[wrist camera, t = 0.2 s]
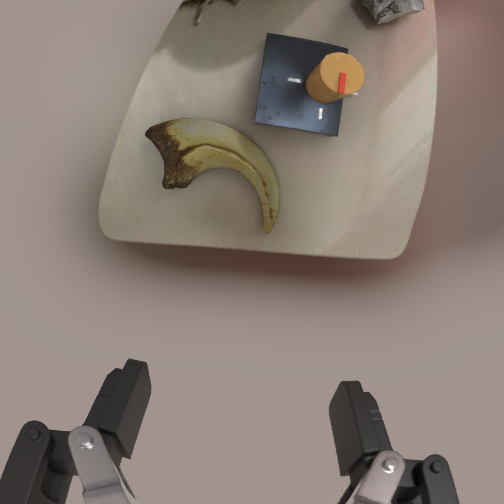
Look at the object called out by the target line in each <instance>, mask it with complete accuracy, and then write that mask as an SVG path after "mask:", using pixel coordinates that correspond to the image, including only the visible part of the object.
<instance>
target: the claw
mask: <svg viewBox="0 0 504 504" xmlns="http://www.w3.org/2000/svg"><path fill="white" fill-rule="evenodd" d="M145 136H146V137H147V138H149V139H150V140H151V141H152V142H153V143H154V145H155V146H156V147H157V149H158V150H159V151H160V153H161V156H162V158H163V161H164V165H165V172H164V178H163V181H162V185H163V187H164V188H165V189H174V188H175V187H177V188H186V187H187V186H188V185H189V184H190V182H191V181H192V179H193V178H195V177H196V176H197V175H198V174H199V173H201V172H202V171H205V170H207V169H210V168H221V167H225V168H232V169H234V170H237V171H238V172H240V173H242V174H243V175H244V176H245V177H246V178H247V179H248V180H249V181H250V182H251V183H252V184H253V186H254V187H255V189H256V191H257V193H258V195H259V197H260V199H261V203H262V208H263V222H264V228H263V229H264V232H265V233H266V234H267V233H269V232H270V231H271V229H272V227H273V224H274V221H275V219H276V215H277V212H278V207H279V186H278V182H277V178H276V174H275V171H274V169H273V167H272V166H271V164H270V162H269V160H268V159H267V157H266V156H265V155H264V153H263V152H262V151H261V150H260V149H259V147H258V146H257V145H256V144H254V143H253V142H252V141H251V140H250V139H248V138H247V137H246V136H244V135H243V134H241V133H240V132H238V131H236V130H235V129H232V128H231V127H229V126H226V125H224V124H221V123H218V122H215V121H211V120H206V119H197V118H181V119H175V120H171V121H166V122H163V123H160V124H157V125H154V126H152V127H150V128H149V129H148V130H147V131H146V133H145Z"/></svg>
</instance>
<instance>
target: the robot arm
mask: <svg viewBox="0 0 504 504" xmlns="http://www.w3.org/2000/svg"><path fill="white" fill-rule="evenodd" d="M150 395H151V381H150V376H149V371H148V366H147V363H146V362H143V361H138V360H134V359H128V360H127V362H126V364H125V366H124V368H123V370H122V369H118V368H115V369H114V370H113V371H112V372H111V373H110V374H108V375H107V377H106V379H105V381H104V383H103V386H102V387H101V389H100V391H99V394H98V395H97V397H96V399H95V401H94V403H93V405H92V408H91V410H90V412H89V414H88V416H87V418H86V420H85V422H84V424H83V425H82V426H79V427H77V428H75V429H73V430H72V431H58V430H49V429H48V428H47V427H46V426H45V424H43V423H42V422H39V421H30V422H27V423H26V424H25V425H24V426H23V427H22V429H21V431H20V433H19V435H18V438H17V440H16V442H15V445H14V446H13V449H12V452H11V454H10V456H9V459H8V461H7V464H6V466H5V469H4V471H3V474H2V477H1V480H0V504H65V502H66V498H67V495H68V491H69V487H70V484H71V480H72V477H73V475H76V476H79V477H80V480H81V482H82V485H83V489H84V491H83V498H84V501H85V503H86V504H140V503H139V501H138V499H137V498H136V496H135V494H134V492H133V490H132V488H131V487H130V485H129V483H128V481H127V479H126V477H125V475H124V473H123V471H122V468H121V466H120V463H121V460H122V457H125V458H128V459H131V455H132V452H133V449H134V445H135V442H136V439H137V436H138V433H139V429H140V426H141V423H142V420H143V417H144V414H145V411H146V408H147V405H148V402H149V399H150ZM329 416H330V421H331V426H332V431H333V437H334V442H335V447H336V453H337V458H338V464H339V468H340V475H341V476H348V475H349V476H350V482H349V483H348V484H347V486H346V488H345V489H344V491H343V492H342V494H341V495H340V497H339V498H338V500H337V501H336V503H335V504H389V503H390V501H391V504H459V500H458V496H457V493H456V489H455V485H454V481H453V478H452V475H451V471H450V468H449V465H448V462H447V460H446V459H445V458H444V457H442V456H440V455H437V454H434V455H430V456H428V457H427V458H426V459H425V460H422V461H421V460H408V459H404V458H403V457H402V456H401V455H400V454H399V453H397V452H395V451H393V449H392V447H391V444H390V441H389V437H388V434H387V431H386V428H385V425H384V422H383V420H382V416H381V413H380V412H379V407H378V405H377V402H376V400H375V399H374V398H373V396H372V395H371V394H370V393H369V392H363V389H362V386H361V383H360V382H359V381H342V382H340V384H339V386H338V388H337V390H336V392H335V394H334V396H333V398H332V400H331V402H330V406H329Z"/></svg>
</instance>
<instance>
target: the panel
mask: <svg viewBox="0 0 504 504" xmlns="http://www.w3.org/2000/svg"><path fill="white" fill-rule="evenodd" d="M338 52H339V53H345V54H348V49H347V48H343V47H339V46H335V45H331V44H327V43H322V42H318V41H313V40H308V39H302V38H297V37H291V36H285V35H278V34H270V33H267V37H266V44H265V51H264V58H263V66H262V73H261V80H260V87H259V95H258V102H257V110H256V118H255V124H261V125H269V126H276V127H283V128H289V129H296V130H301V131H307V132H313V133H318V134H323V135H328V136H338V130H339V123H340V115H341V108H342V100H343V98H341V99H338V100H336V101H333V102H331V103H322V102H318V101H316V100H315V99H313V98H312V97H311V96H310V94H309V93H308V91H307V88H306V80H307V78H308V76H309V75H310V74H311V72H312V71H313V70H314V69H315V68H316V67H317V66H318V65H319V63H320V62H321V61H322V60H323V59H324V58H325V57H326V56H328V55H329V54H332V53H338ZM353 95H357V96H358V93H357V92H355V93H353Z"/></svg>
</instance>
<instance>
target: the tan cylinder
mask: <svg viewBox="0 0 504 504" xmlns="http://www.w3.org/2000/svg"><path fill="white" fill-rule="evenodd" d="M363 83H364V71H363V68H362V66H361V65H360V63H359V62H358V61H357V60H356V59H355V58H354V57H352V56H350V55H348V54H345V53H339V52H338V53H332V54H329V55H328V56H326V57H325V58H324V59H323V60H322V61H321V62H320V63H319V65H318V66H317V67H316V68H315V69H314V70H313V71H312V72H311V74H310V75H309V76H308V78H307V80H306V88H307V91H308V93H309V94H310V96H311V97H312V98H313V99H315V100H316V101H318V102H322V103H331V102H333V101H336V100H338V99H341V98H343V97H346V96H348V95H350V94H353V93H355V92H357V91H358V90H359V89H360V88H361V87H362V85H363Z"/></svg>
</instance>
